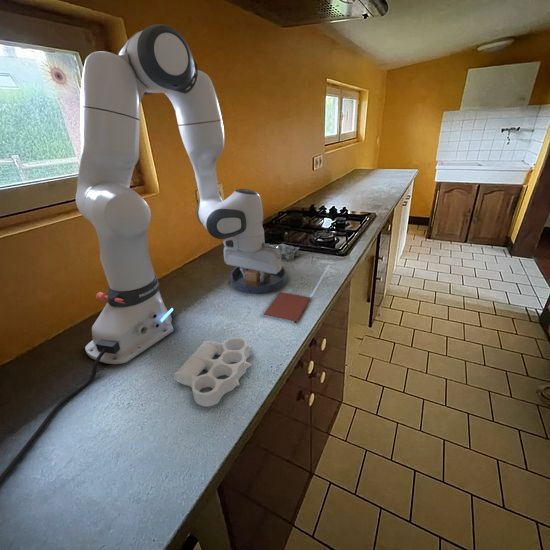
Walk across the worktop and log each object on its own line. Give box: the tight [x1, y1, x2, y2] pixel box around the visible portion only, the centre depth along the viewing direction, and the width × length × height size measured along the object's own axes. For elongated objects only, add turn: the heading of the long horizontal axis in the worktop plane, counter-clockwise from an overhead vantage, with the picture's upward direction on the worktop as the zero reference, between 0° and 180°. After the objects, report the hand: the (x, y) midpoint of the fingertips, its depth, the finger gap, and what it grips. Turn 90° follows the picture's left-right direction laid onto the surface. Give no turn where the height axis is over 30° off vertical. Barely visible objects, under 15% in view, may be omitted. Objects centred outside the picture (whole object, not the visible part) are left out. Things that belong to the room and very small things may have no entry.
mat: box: [263, 291, 311, 324], centre depth 90 cm, size 13×10×1 cm
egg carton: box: [276, 243, 300, 260], centre depth 123 cm, size 11×8×4 cm
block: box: [245, 269, 262, 286], centre depth 101 cm, size 4×4×5 cm
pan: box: [229, 265, 288, 295], centre depth 105 cm, size 19×19×3 cm
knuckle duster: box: [173, 337, 253, 408], centre depth 67 cm, size 3×18×15 cm
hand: (253, 279), depth 102 cm, fingers closed on block, 4 cm apart
